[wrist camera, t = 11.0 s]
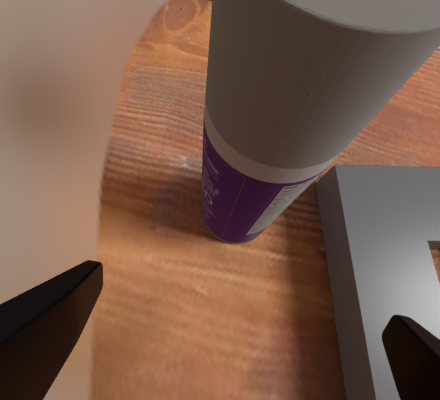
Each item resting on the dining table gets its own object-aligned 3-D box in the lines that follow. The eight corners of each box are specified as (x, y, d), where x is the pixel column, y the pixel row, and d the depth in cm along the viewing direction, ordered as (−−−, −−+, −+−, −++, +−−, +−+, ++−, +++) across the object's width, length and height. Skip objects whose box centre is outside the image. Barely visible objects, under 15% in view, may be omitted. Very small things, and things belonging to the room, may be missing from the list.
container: (187, 205, 18) (148, -101, 4) (237, 167, 20) (339, -164, 5) (231, 259, 17) (380, 95, 3) (281, 215, 19) (547, -40, 4)
